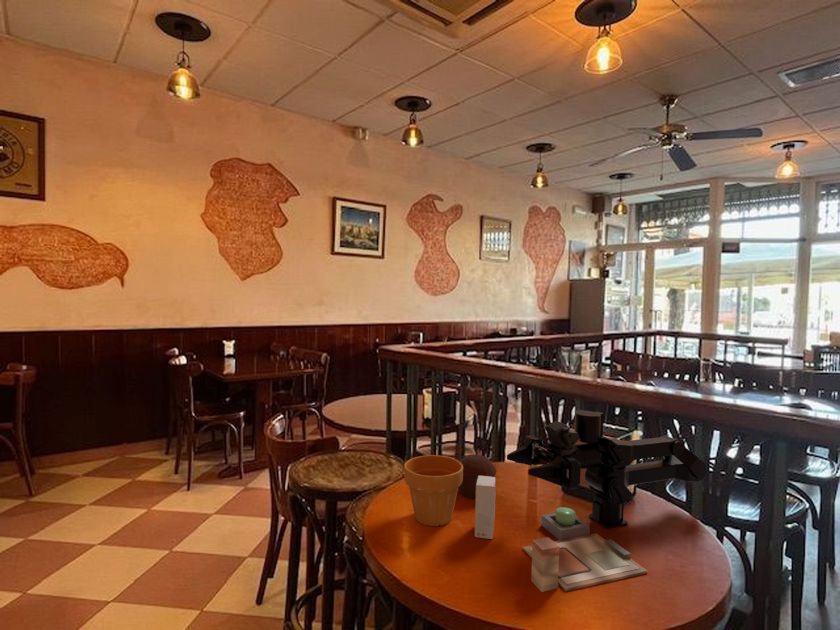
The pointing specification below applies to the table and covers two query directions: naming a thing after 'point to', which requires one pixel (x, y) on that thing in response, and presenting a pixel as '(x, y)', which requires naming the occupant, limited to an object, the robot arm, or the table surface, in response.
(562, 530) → the button collar
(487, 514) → the skincare box
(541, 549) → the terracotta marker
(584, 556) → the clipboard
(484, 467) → the muffin
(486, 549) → the table surface
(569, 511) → the button
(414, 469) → the flower pot
